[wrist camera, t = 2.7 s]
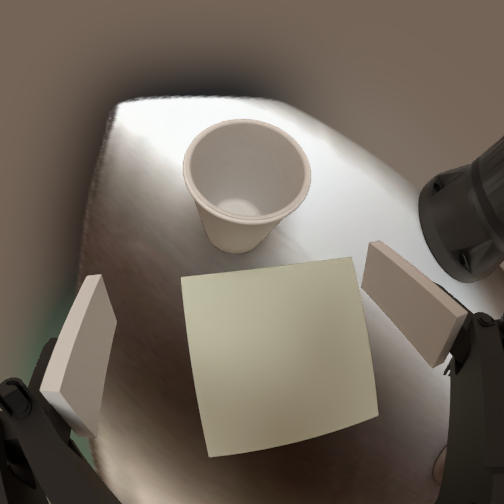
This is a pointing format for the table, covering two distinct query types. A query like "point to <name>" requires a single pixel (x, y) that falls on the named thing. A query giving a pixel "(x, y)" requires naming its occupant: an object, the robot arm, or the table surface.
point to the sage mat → (278, 354)
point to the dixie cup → (244, 181)
